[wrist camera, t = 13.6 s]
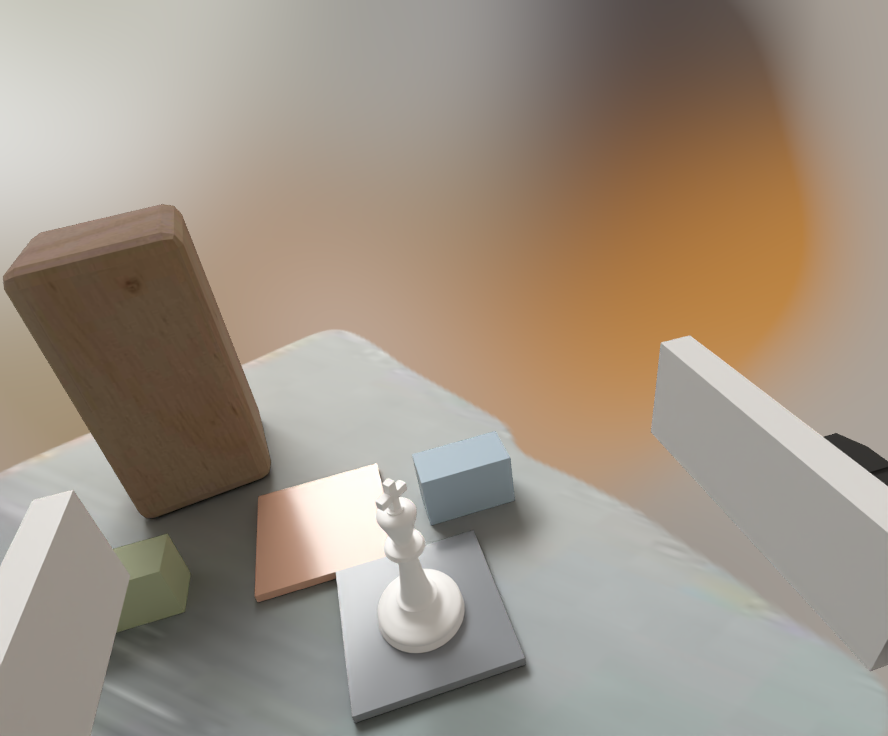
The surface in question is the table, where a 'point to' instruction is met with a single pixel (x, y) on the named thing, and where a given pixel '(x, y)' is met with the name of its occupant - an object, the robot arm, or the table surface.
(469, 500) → the brick blue
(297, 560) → the pad terracotta
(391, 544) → the chess piece
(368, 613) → the pad slate
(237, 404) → the wooden block
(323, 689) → the table surface
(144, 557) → the brick olive
